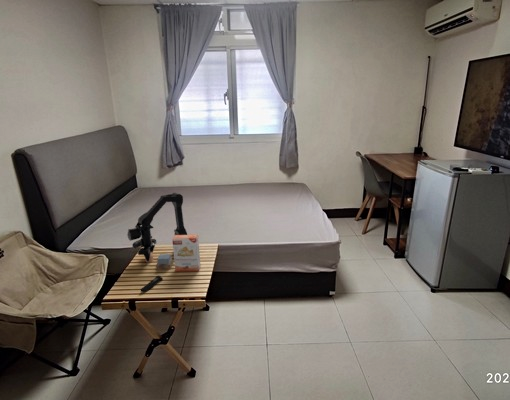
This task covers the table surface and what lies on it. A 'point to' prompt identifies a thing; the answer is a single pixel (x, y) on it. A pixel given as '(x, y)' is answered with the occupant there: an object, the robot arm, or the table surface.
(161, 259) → the tower middle
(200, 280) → the table surface
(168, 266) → the tower base
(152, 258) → the terracotta cylinder
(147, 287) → the electric trimmer
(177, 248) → the cracker box
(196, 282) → the table surface
